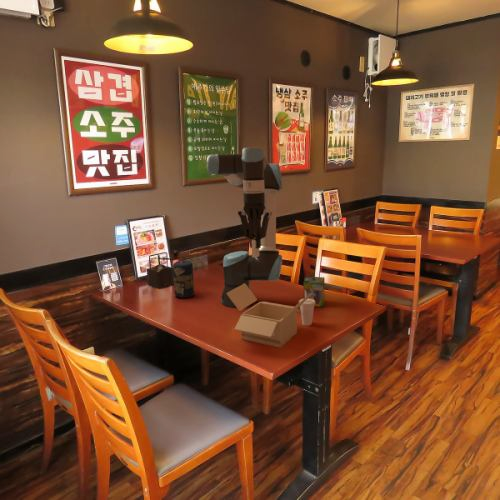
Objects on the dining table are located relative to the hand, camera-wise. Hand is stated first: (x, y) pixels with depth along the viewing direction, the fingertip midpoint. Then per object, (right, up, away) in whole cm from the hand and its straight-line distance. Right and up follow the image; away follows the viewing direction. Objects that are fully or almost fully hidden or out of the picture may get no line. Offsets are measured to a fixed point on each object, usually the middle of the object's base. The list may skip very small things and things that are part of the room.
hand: (255, 256), depth 156 cm
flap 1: (-5, -15, +7) cm, 17 cm away
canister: (-34, -20, +53) cm, 66 cm away
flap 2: (0, -24, -7) cm, 25 cm away
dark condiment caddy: (-48, -16, +73) cm, 88 cm away
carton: (+5, -30, +4) cm, 31 cm away
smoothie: (+21, -27, +15) cm, 37 cm away
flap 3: (+10, -20, +11) cm, 25 cm away
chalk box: (+27, -22, +37) cm, 51 cm away
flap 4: (+15, -17, -5) cm, 23 cm away
